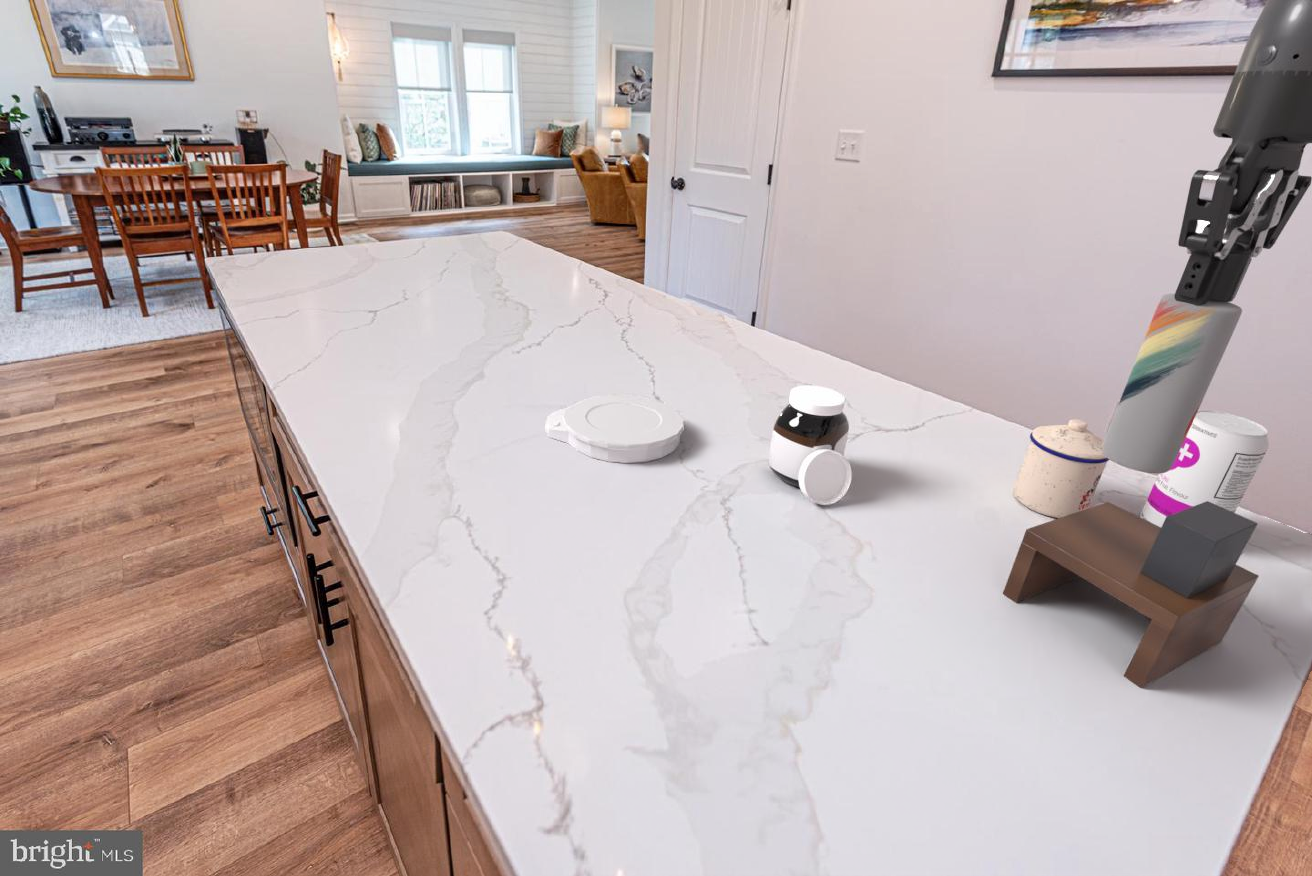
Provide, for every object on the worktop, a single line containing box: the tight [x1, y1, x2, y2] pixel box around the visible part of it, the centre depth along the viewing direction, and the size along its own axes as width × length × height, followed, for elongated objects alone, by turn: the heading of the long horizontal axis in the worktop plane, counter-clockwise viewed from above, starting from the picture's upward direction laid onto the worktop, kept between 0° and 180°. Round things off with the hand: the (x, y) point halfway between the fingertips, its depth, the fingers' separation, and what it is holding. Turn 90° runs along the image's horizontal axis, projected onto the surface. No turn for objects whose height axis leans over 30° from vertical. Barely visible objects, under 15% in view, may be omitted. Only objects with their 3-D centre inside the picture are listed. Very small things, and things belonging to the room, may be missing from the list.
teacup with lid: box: [1013, 418, 1110, 519], centre depth 87 cm, size 12×9×12 cm
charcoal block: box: [1141, 501, 1258, 598], centre depth 60 cm, size 7×4×6 cm, turn 118°
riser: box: [1002, 501, 1260, 689], centre depth 66 cm, size 14×14×8 cm
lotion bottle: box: [1102, 243, 1254, 474], centre depth 59 cm, size 6×6×20 cm
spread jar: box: [768, 384, 853, 506], centre depth 86 cm, size 12×11×12 cm
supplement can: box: [1139, 409, 1270, 527], centre depth 81 cm, size 8×8×15 cm
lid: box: [544, 393, 685, 464], centre depth 97 cm, size 17×20×3 cm
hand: (1203, 300), depth 57 cm, fingers closed on lotion bottle, 4 cm apart
